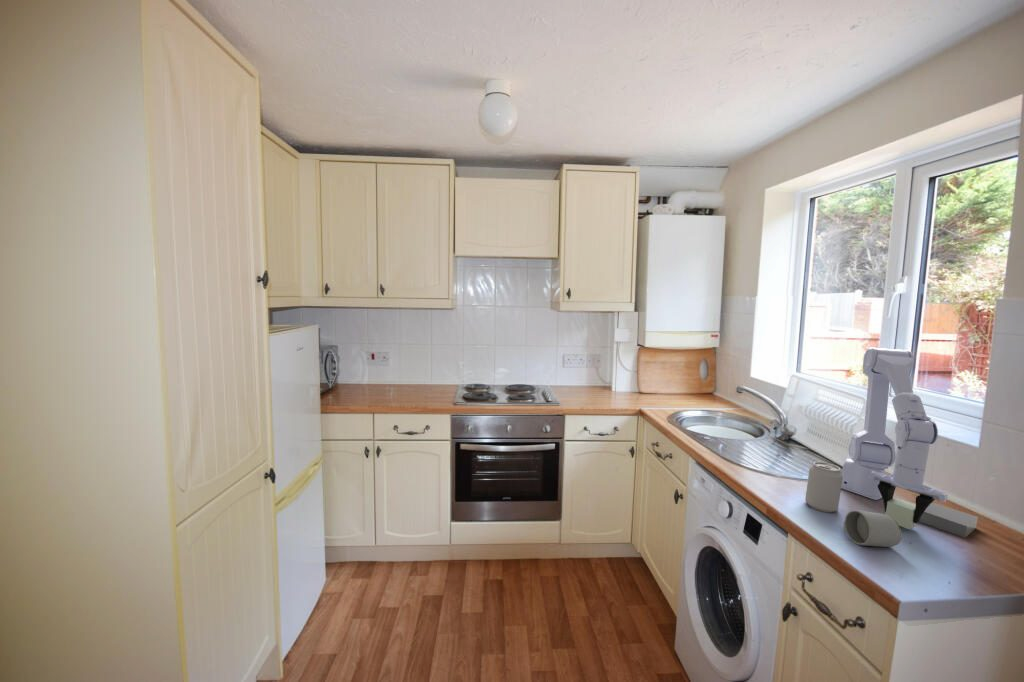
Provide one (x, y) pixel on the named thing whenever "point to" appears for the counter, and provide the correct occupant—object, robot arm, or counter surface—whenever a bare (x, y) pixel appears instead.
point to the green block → (901, 512)
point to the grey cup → (872, 529)
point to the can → (824, 486)
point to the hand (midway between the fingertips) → (901, 516)
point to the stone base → (949, 519)
